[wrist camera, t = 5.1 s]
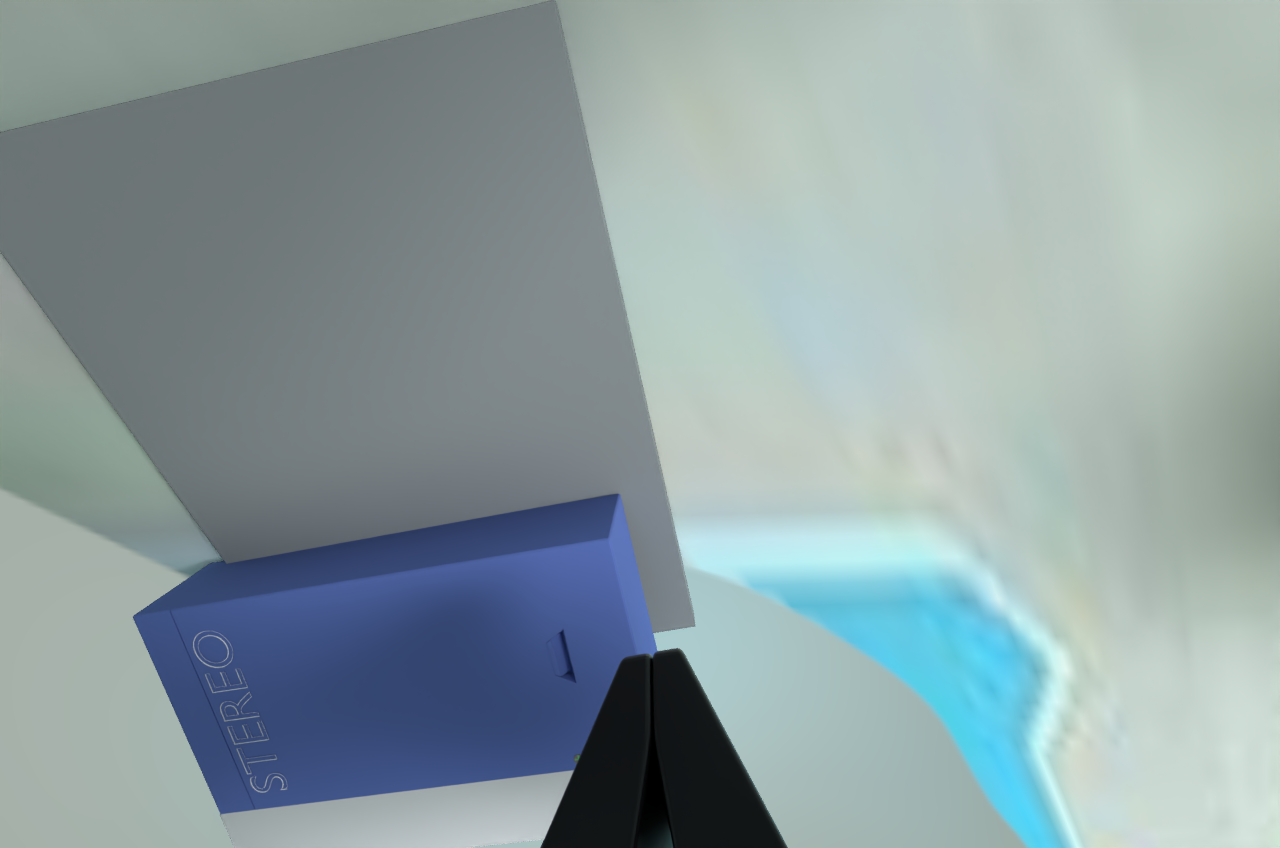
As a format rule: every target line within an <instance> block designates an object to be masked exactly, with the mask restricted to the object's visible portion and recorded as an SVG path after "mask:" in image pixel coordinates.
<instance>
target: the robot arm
mask: <svg viewBox="0 0 1280 848" xmlns="http://www.w3.org/2000/svg"><path fill="white" fill-rule="evenodd" d="M541 848H788V847H787V845H786V844H785V842H784V840H783V838H782V836H781V834H780V832H779V830H778V829H777V827H776V825H775V823H774V821H773V819H772V817H771V815H770V813H769V812H768V810H767V808H766V806H765V804H764V802H763V801H762V798H761V797H760V795H759V793H758V791H757V789H756V787H755V785H754V783H753V782H752V780H751V778H750V776H749V774H748V773H747V770H746V769H745V767H744V765H743V763H742V761H741V759H740V757H739V755H738V754H737V752H736V750H735V748H734V746H733V744H732V742H731V741H730V739H729V737H728V735H727V733H726V731H725V729H724V727H723V726H722V724H721V722H720V720H719V718H718V716H717V715H716V712H715V710H714V709H713V707H712V705H711V703H710V701H709V699H708V698H707V695H706V694H705V692H704V690H703V688H702V686H701V684H700V682H699V681H698V679H697V677H696V675H695V673H694V671H693V669H692V667H691V665H690V664H689V662H688V660H687V658H686V656H685V654H684V653H683V651H682V650H681V649H678V648H676V649H670V650H664V651H657V652H655V653H654V654H653V657H652V655H651V654H648V653H645V654H639V655H633V656H627V657H625V658H623V659H622V661H621V662H620V664H619V666H618V669H617V671H616V673H615V676H614V678H613V680H612V683H611V685H610V687H609V690H608V692H607V694H606V697H605V699H604V701H603V704H602V706H601V708H600V711H599V713H598V715H597V718H596V720H595V722H594V724H593V727H592V729H591V731H590V734H589V736H588V738H587V741H586V743H585V745H584V748H583V750H582V752H581V755H580V757H579V759H578V762H577V764H576V766H575V769H574V771H573V773H572V776H571V778H570V780H569V783H568V785H567V787H566V790H565V792H564V794H563V797H562V799H561V801H560V804H559V806H558V808H557V811H556V813H555V815H554V818H553V820H552V822H551V825H550V827H549V829H548V832H547V834H546V836H545V839H544V841H543V843H542V845H541Z"/></svg>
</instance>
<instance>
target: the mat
mask: <svg viewBox="0 0 1280 848" xmlns="http://www.w3.org/2000/svg"><path fill="white" fill-rule="evenodd" d="M0 252H1V253H2V254H3V256H4V257H5V259H6V260H7V261H8V263H9V264H10V265H11V267H12V268H13V270H14V271H15V272H16V274H17V275H18V277H19V278H20V279H21V281H22V282H23V283H24V285H25V286H26V288H27V289H28V290H29V292H30V293H31V294H32V296H33V297H34V299H35V300H36V301H37V303H38V304H39V306H40V307H41V308H42V310H43V311H44V312H45V314H46V315H47V317H48V318H49V319H50V321H51V322H52V323H53V325H54V326H55V328H56V329H57V330H58V332H59V333H60V335H61V336H62V337H63V339H64V340H65V341H66V343H67V344H68V346H69V347H70V348H71V350H72V351H73V353H74V354H75V355H76V357H77V358H78V359H79V361H80V362H81V364H82V365H83V366H84V368H85V369H86V370H87V372H88V373H89V375H90V376H91V377H92V379H93V380H94V382H95V383H96V384H97V386H98V387H99V388H100V390H101V391H102V393H103V394H104V395H105V397H106V398H107V399H108V401H109V402H110V404H111V405H112V406H113V408H114V409H115V411H116V412H117V413H118V415H119V416H120V417H121V419H122V420H123V422H124V423H125V424H126V426H127V427H128V428H129V430H130V431H131V433H132V434H133V435H134V437H135V438H136V440H137V441H138V442H139V444H140V445H141V446H142V448H143V449H144V451H145V452H146V453H147V455H148V456H149V458H150V459H151V460H152V462H153V463H154V464H155V466H156V467H157V469H158V470H159V471H160V473H161V474H162V475H163V477H164V478H165V480H166V481H167V482H168V484H169V485H170V487H171V488H172V489H173V491H174V492H175V493H176V495H177V496H178V498H179V499H180V500H181V502H182V503H183V504H184V506H185V507H186V509H187V510H188V511H189V513H190V514H191V516H192V517H193V518H194V520H195V521H196V522H197V524H198V525H199V527H200V528H201V529H202V531H203V532H204V534H205V535H206V536H207V538H208V539H209V540H210V542H211V543H212V545H213V546H214V547H215V549H216V550H217V551H218V553H219V554H220V556H221V557H222V558H223V560H224V561H225V563H226V564H228V563H234V562H239V561H245V560H250V559H256V558H261V557H267V556H272V555H278V554H283V553H289V552H294V551H300V550H305V549H311V548H316V547H322V546H327V545H333V544H338V543H344V542H349V541H355V540H360V539H366V538H372V537H377V536H383V535H388V534H394V533H399V532H405V531H410V530H416V529H421V528H427V527H432V526H438V525H443V524H449V523H454V522H460V521H465V520H471V519H476V518H482V517H487V516H493V515H498V514H504V513H509V512H515V511H521V510H526V509H532V508H537V507H543V506H549V505H555V504H561V503H567V502H573V501H578V500H584V499H590V498H596V497H602V496H608V495H614V494H620V495H621V499H622V503H623V507H624V512H625V516H626V520H627V524H628V529H629V533H630V537H631V541H632V546H633V550H634V554H635V558H636V563H637V567H638V571H639V575H640V580H641V584H642V588H643V592H644V597H645V601H646V605H647V609H648V614H649V618H650V622H651V626H652V631H653V633H656V632H663V631H669V630H675V629H681V628H687V627H694V626H695V620H694V613H693V607H692V603H691V598H690V594H689V589H688V585H687V580H686V576H685V572H684V567H683V563H682V558H681V554H680V549H679V545H678V540H677V536H676V532H675V527H674V523H673V518H672V514H671V509H670V505H669V500H668V496H667V492H666V487H665V483H664V478H663V474H662V469H661V465H660V461H659V456H658V452H657V447H656V443H655V438H654V434H653V429H652V425H651V421H650V416H649V412H648V407H647V403H646V398H645V394H644V389H643V385H642V381H641V376H640V372H639V367H638V363H637V358H636V354H635V350H634V345H633V341H632V336H631V332H630V327H629V323H628V318H627V314H626V310H625V305H624V301H623V296H622V292H621V287H620V283H619V278H618V274H617V270H616V265H615V261H614V256H613V252H612V247H611V243H610V238H609V234H608V230H607V225H606V221H605V216H604V212H603V207H602V203H601V199H600V194H599V190H598V185H597V181H596V176H595V172H594V167H593V163H592V159H591V154H590V150H589V145H588V141H587V136H586V132H585V127H584V123H583V119H582V114H581V110H580V105H579V101H578V96H577V92H576V88H575V83H574V79H573V74H572V70H571V65H570V61H569V56H568V52H567V48H566V43H565V39H564V34H563V30H562V25H561V21H560V16H559V12H558V8H557V3H556V1H555V0H551V1H547V2H543V3H539V4H535V5H530V6H526V7H522V8H518V9H514V10H510V11H505V12H501V13H497V14H493V15H489V16H484V17H480V18H476V19H472V20H468V21H464V22H459V23H455V24H451V25H447V26H443V27H439V28H434V29H430V30H426V31H422V32H418V33H413V34H409V35H405V36H401V37H397V38H393V39H388V40H384V41H380V42H376V43H372V44H367V45H363V46H359V47H355V48H351V49H347V50H342V51H338V52H334V53H330V54H326V55H321V56H317V57H313V58H309V59H305V60H301V61H296V62H292V63H288V64H284V65H280V66H275V67H271V68H267V69H263V70H259V71H255V72H250V73H246V74H242V75H238V76H234V77H230V78H225V79H221V80H217V81H213V82H209V83H204V84H200V85H196V86H192V87H188V88H184V89H179V90H175V91H171V92H167V93H163V94H158V95H154V96H150V97H146V98H142V99H138V100H133V101H129V102H125V103H121V104H117V105H112V106H108V107H104V108H100V109H96V110H92V111H87V112H83V113H79V114H75V115H71V116H66V117H62V118H58V119H54V120H50V121H46V122H41V123H37V124H33V125H29V126H25V127H21V128H16V129H12V130H8V131H4V132H0Z"/></svg>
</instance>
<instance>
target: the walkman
mask: <svg viewBox="0 0 1280 848" xmlns="http://www.w3.org/2000/svg"><path fill="white" fill-rule="evenodd" d="M133 618H134V621H135V623H136V625H137V627H138V630H139V632H140V634H141V636H142V639H143V641H144V643H145V645H146V648H147V650H148V652H149V654H150V657H151V659H152V661H153V663H154V665H155V668H156V670H157V672H158V675H159V677H160V679H161V681H162V684H163V686H164V688H165V690H166V693H167V695H168V697H169V699H170V702H171V704H172V706H173V708H174V710H175V713H176V715H177V717H178V719H179V722H180V724H181V726H182V728H183V731H184V733H185V735H186V737H187V740H188V742H189V744H190V746H191V749H192V751H193V753H194V755H195V758H196V760H197V762H198V764H199V767H200V768H201V771H202V773H203V776H204V778H205V780H206V782H207V784H208V787H209V789H210V791H211V793H212V796H213V798H214V800H215V802H216V805H217V807H218V809H219V811H220V816H221V818H222V820H223V823H224V825H225V827H226V829H227V832H228V834H229V836H230V839H231V841H232V843H233V845H234V848H471V847H480V846H489V845H498V844H506V843H515V842H524V841H533V840H542V839H545V836H546V834H547V832H548V829H549V827H550V825H551V822H552V820H553V818H554V815H555V813H556V811H557V808H558V806H559V804H560V801H561V799H562V797H563V794H564V792H565V790H566V787H567V785H568V783H569V780H570V778H571V776H572V773H573V771H574V769H575V766H576V764H577V762H578V759H579V757H580V755H581V752H582V750H583V748H584V745H585V743H586V741H587V738H588V736H589V734H590V731H591V729H592V727H593V724H594V722H595V720H596V718H597V715H598V713H599V711H600V708H601V706H602V704H603V701H604V699H605V697H606V694H607V692H608V690H609V687H610V685H611V683H612V680H613V678H614V676H615V673H616V671H617V669H618V666H619V664H620V662H621V661H622V659H623V658H625V657H627V656H633V655H639V654H645V653H648V654H651V655H652V657H653V654H654V653H655V652H657V648H656V643H655V640H654V635H653V631H652V626H651V622H650V618H649V614H648V609H647V605H646V601H645V597H644V592H643V588H642V584H641V580H640V575H639V571H638V567H637V563H636V558H635V554H634V550H633V546H632V541H631V537H630V533H629V529H628V524H627V520H626V516H625V512H624V507H623V503H622V499H621V495H620V494H614V495H608V496H602V497H596V498H590V499H584V500H578V501H573V502H567V503H561V504H555V505H549V506H543V507H537V508H532V509H526V510H521V511H515V512H509V513H504V514H498V515H493V516H487V517H482V518H476V519H471V520H465V521H460V522H454V523H449V524H443V525H438V526H432V527H427V528H421V529H416V530H410V531H405V532H399V533H394V534H388V535H383V536H377V537H372V538H366V539H360V540H355V541H349V542H344V543H338V544H333V545H327V546H322V547H316V548H311V549H305V550H300V551H294V552H289V553H283V554H278V555H272V556H267V557H261V558H256V559H250V560H245V561H239V562H234V563H228V564H226V563H225V561H221V562H215V563H210V564H209V565H207V566H206V567H204V568H203V569H201V570H200V571H198V572H197V573H195V574H194V575H192V576H191V577H189V578H188V579H187V580H185V581H184V582H182V583H181V584H179V585H178V586H176V587H175V588H173V589H172V590H171V591H169V592H168V593H166V594H165V595H163V596H162V597H160V598H159V599H157V600H156V601H154V602H153V603H151V604H150V605H149V606H147V607H146V608H144V609H143V610H141V611H140V612H138V613H137V614H136V615H134V616H133Z"/></svg>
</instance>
